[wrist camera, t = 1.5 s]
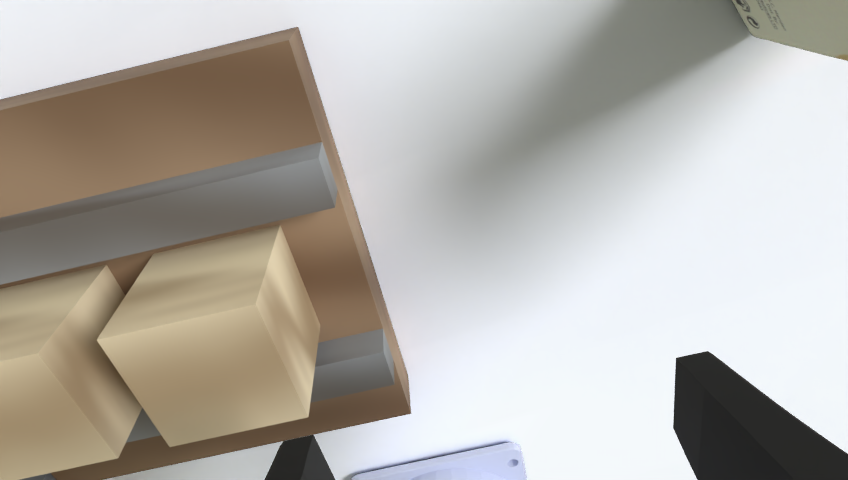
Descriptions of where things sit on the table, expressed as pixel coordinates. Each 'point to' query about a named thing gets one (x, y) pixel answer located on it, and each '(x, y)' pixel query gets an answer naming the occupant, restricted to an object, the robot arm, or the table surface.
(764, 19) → the skincare box
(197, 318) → the light wooden cube
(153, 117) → the slot bed
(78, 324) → the beige cube
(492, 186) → the table surface
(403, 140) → the table surface
